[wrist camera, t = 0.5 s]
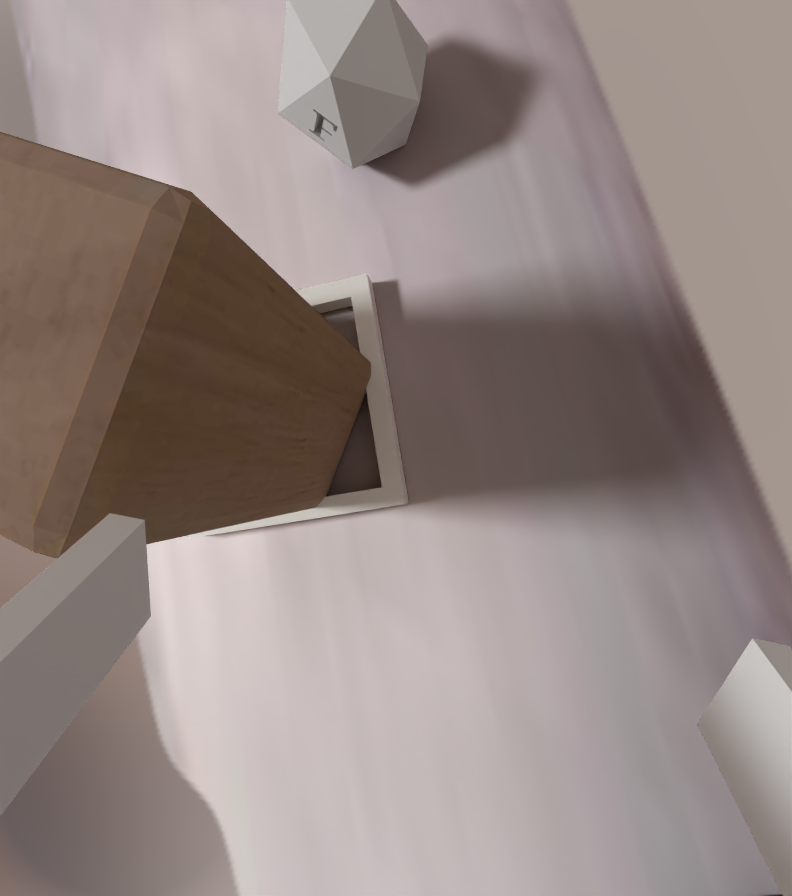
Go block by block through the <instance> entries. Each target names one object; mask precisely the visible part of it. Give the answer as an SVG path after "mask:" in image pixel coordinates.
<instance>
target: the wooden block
mask: <svg viewBox="0 0 792 896" xmlns="http://www.w3.org/2000/svg"><path fill="white" fill-rule="evenodd" d="M370 377H371V362H370V361H369V360H368V359H366V358H365V357H364V356H363V355H362V354H361V353H360V352H359V351H358V350H357V349H356V348H355V347H354V346H353V345H352V344H351V343H350V342H349V341H348V340H347V339H345V338H344V337H343V336H342V335H341V334H340V333H339V332H338V331H337V330H336V329H335V328H334V327H333V326H332V325H331V324H330V323H329V322H328V321H327V320H326V319H324V318H323V317H322V316H321V315H320V314H319V313H318V312H317V311H316V310H315V309H314V308H313V307H312V306H311V305H310V304H309V303H308V302H307V301H306V300H305V299H303V298H302V297H301V296H300V295H299V294H298V293H297V292H296V291H295V290H294V289H293V288H292V287H291V286H290V285H289V284H288V283H287V282H286V281H285V280H284V279H282V278H281V277H280V276H279V275H278V274H277V273H276V272H275V271H274V270H273V269H272V268H271V267H270V266H269V265H268V264H267V263H266V262H265V261H264V260H263V259H261V258H260V257H259V256H258V255H257V254H256V253H255V252H254V251H253V250H252V249H251V248H250V247H249V246H248V245H247V244H246V243H245V242H244V241H243V240H242V239H240V238H239V237H238V236H237V235H236V234H235V233H234V232H233V231H232V230H231V229H230V228H229V227H228V226H227V225H226V224H225V223H224V222H223V221H222V220H221V219H219V218H218V217H217V216H216V215H215V214H214V213H213V212H212V211H211V210H210V209H209V208H208V207H207V206H206V205H205V204H204V203H203V202H202V201H200V200H199V199H198V198H197V197H196V196H195V195H194V194H193V193H192V192H190V191H187V190H184V189H181V188H178V187H174V186H171V185H168V184H165V183H162V182H158V181H155V180H152V179H149V178H146V177H142V176H139V175H136V174H133V173H130V172H127V171H123V170H120V169H117V168H114V167H111V166H107V165H104V164H101V163H98V162H95V161H91V160H88V159H85V158H82V157H79V156H75V155H72V154H69V153H66V152H63V151H60V150H56V149H53V148H50V147H47V146H44V145H40V144H37V143H34V142H31V141H28V140H24V139H21V138H18V137H15V136H12V135H9V134H5V133H2V132H0V535H2V536H4V537H6V538H8V539H10V540H12V541H14V542H16V543H18V544H19V545H22V546H23V547H25V548H28V549H30V550H31V551H33V552H36V553H40V554H43V555H46V556H50V557H53V558H59V557H60V556H61V555H62V554H63V553H64V552H66V551H67V550H68V549H69V548H70V547H71V546H72V545H74V544H75V543H76V542H77V541H78V540H79V539H81V538H82V537H83V536H84V535H85V534H86V533H88V532H89V531H90V530H91V529H92V528H93V527H95V526H96V525H97V524H98V523H99V522H100V521H101V520H103V519H104V518H105V517H106V516H107V515H108V514H110V513H112V514H117V515H122V516H127V517H132V518H137V519H142V520H145V532H146V544H150V543H154V542H159V541H163V540H168V539H173V538H177V537H182V536H187V535H191V534H196V533H201V532H205V531H210V530H214V529H219V528H224V527H228V526H233V525H238V524H242V523H247V522H251V521H256V520H261V519H265V518H270V517H275V516H279V515H284V514H288V513H293V512H298V511H302V510H307V509H312V508H316V506H317V505H318V504H319V503H320V502H321V501H322V500H323V499H324V497H326V495H327V493H328V490H329V488H330V485H331V482H332V480H333V477H334V475H335V472H336V469H337V467H338V464H339V462H340V459H341V456H342V454H343V451H344V449H345V446H346V443H347V441H348V438H349V436H350V433H351V430H352V428H353V425H354V423H355V420H356V417H357V415H358V412H359V409H360V407H361V404H362V402H363V399H364V396H365V394H366V387H367V385H368V382H369V380H370Z"/></svg>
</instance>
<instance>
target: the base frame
mask: <svg viewBox="0 0 792 896" xmlns="http://www.w3.org/2000/svg"><path fill="white" fill-rule="evenodd" d="M296 292H297V293H298V294H299V295H300V296H301V297H302V298H303V299H305V300H306V301H307V302H308V303H309V304H310V305H311V306H312V307H313V308H314V309H315V310H316V311H317V312H318V313H324V312H328V311H332V310H337V309H341V308H345V307H350V306H353V312H354V318H355V324H356V330H357V337H358V343H359V349H360V353H361V354H362V355H363V356H364V357H365V358H366V359H368V360H369V361H370V362H371V377H370V380H369V382H368V385H367V387H366V392H367V398H368V404H369V411H370V417H371V423H372V429H373V435H374V441H375V448H376V454H377V460H378V466H379V472H380V478H381V485H382V487H381V488H375V489H369V490H363V491H357V492H351V493H345V494H338V495H332V496H326V497H324V499H323V500H322V501H321V502H320V503H319V504H318V505H317V506H316V508H312V509H307V510H302V511H298V512H293V513H288V514H284V515H279V516H275V517H270V518H265V519H261V520H256V521H251V522H247V523H242V524H238V525H233V526H228V527H224V528H219V529H214V530H210V531H205V532H201V533H196V534H191V535H187V537H188V539H189V538H195V537H201V536H207V535H214V534H220V533H226V532H233V531H239V530H245V529H252V528H258V527H264V526H271V525H277V524H283V523H290V522H296V521H302V520H308V519H315V518H321V517H327V516H334V515H340V514H346V513H353V512H359V511H365V510H372V509H378V508H384V507H391V506H397V505H403V504H407V503H409V501H408V495H407V489H406V483H405V477H404V471H403V465H402V459H401V453H400V447H399V441H398V435H397V429H396V423H395V417H394V411H393V405H392V399H391V393H390V386H389V380H388V374H387V368H386V362H385V356H384V350H383V344H382V338H381V332H380V326H379V320H378V314H377V308H376V302H375V296H374V290H373V284H372V281H371V280H370V278H369V276H368V275H367V273H366V274H362V275H358V276H354V277H349V278H345V279H341V280H337V281H333V282H329V283H325V284H321V285H316V286H312V287H308V288H304V289H300V290H296Z"/></svg>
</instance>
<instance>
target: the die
mask: <svg viewBox="0 0 792 896" xmlns="http://www.w3.org/2000/svg"><path fill="white" fill-rule="evenodd" d="M427 49H428V45H427V43H426V42H425V41H424V39H423V38H422V36H421V35H420V34H419V32H418V31H417V29H416V28H415V27H414V25H413V24H412V22H411V21H410V20H409V18H408V17H407V15H406V14H405V13H404V11H403V10H402V8H401V7H400V6H399V4H398V3H397V1H396V0H287V5H286V17H285V29H284V41H283V53H282V65H281V77H280V89H279V101H278V113H277V114H279V115H280V116H282V117H283V118H284V119H286V120H287V121H288V122H290V123H291V124H292V125H294V126H295V127H297V128H298V129H299V130H301V131H302V132H303V133H305V134H306V135H307V136H309V137H310V138H312V139H313V140H314V141H316V142H317V143H318V144H320V145H321V146H322V147H324V148H325V149H327V150H328V151H329V152H331V153H332V154H333V155H335V156H336V157H337V158H339V159H340V160H342V161H343V162H344V163H346V164H347V165H348V166H350V167H351V168H352V169H354V168H356V167H358V166H360V165H363V164H365V163H367V162H369V161H371V160H373V159H376V158H378V157H380V156H382V155H384V154H386V153H389V152H391V151H393V150H395V149H397V148H399V147H402V146H404V145H406V143H407V140H408V137H409V134H410V131H411V127H412V124H413V121H414V118H415V115H416V112H417V109H418V106H419V103H420V97H421V91H422V84H423V77H424V70H425V63H426V56H427Z"/></svg>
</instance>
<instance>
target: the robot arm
mask: <svg viewBox="0 0 792 896" xmlns="http://www.w3.org/2000/svg"><path fill="white" fill-rule="evenodd" d="M150 616H151V613H150V597H149V580H148V564H147V548H146V532H145V520H142V519H137V518H132V517H127V516H122V515H117V514H112V513H110V514H108V515H107V516H106V517H105V518H104V519H103V520H101V521H100V522H99V523H98V524H97V525H96V526H95V527H93V528H92V529H91V530H90V531H89V532H88V533H86V534H85V535H84V536H83V537H82V538H81V539H79V540H78V541H77V542H76V543H75V544H74V545H72V546H71V547H70V548H69V549H68V550H67V551H66V552H64V553H63V554H62V555H61V556H60V557H59V558H57V559H56V560H55V561H54V562H53V563H52V564H51V565H49V566H48V567H47V568H46V569H45V570H44V571H42V572H41V573H40V574H39V575H38V576H37V577H35V578H34V579H33V580H32V581H31V582H30V583H28V584H27V585H26V586H25V587H24V588H23V589H22V590H20V591H19V592H18V593H17V594H16V595H15V596H13V597H12V598H11V599H10V600H9V601H8V602H7V603H5V604H4V605H3V606H2V607H1V608H0V816H1V815H2V813H3V812H4V810H5V809H6V808H7V806H8V805H9V804H10V802H11V801H12V800H13V799H14V797H15V796H16V795H17V793H18V792H19V791H20V789H21V788H22V787H23V785H24V784H25V783H26V781H27V780H28V779H29V777H30V776H31V775H32V773H33V772H34V771H35V769H36V768H37V767H38V765H39V764H40V763H41V761H42V760H43V758H44V757H45V756H46V755H47V753H48V752H49V751H50V749H51V748H52V747H53V745H54V744H55V743H56V741H57V740H58V738H59V737H60V736H61V735H62V733H63V732H64V731H65V729H66V728H67V726H68V725H69V724H70V723H71V721H72V720H73V719H74V717H75V716H76V715H77V713H78V712H79V711H80V709H81V708H82V707H83V705H84V704H85V703H86V701H87V700H88V699H89V697H90V696H91V695H92V693H93V692H94V691H95V689H96V688H97V687H98V685H99V684H100V683H101V681H102V680H103V679H104V677H105V676H106V675H107V673H108V672H109V671H110V669H111V668H112V667H113V666H114V664H115V663H116V662H117V660H118V659H119V658H120V656H121V655H122V653H123V652H124V651H125V649H126V648H127V647H128V646H129V644H130V643H131V642H132V640H133V639H134V638H135V636H136V635H137V634H138V632H139V631H140V630H141V628H142V627H143V626H144V624H145V623H146V622H147V620H148V619H149V618H150ZM697 725H698V727H699V729H700V731H701V733H702V735H703V737H704V739H705V741H706V743H707V745H708V747H709V749H710V751H711V753H712V755H713V757H714V759H715V761H716V763H717V765H718V767H719V769H720V771H721V773H722V775H723V777H724V779H725V781H726V783H727V785H728V787H729V789H730V791H731V793H732V795H733V797H734V799H735V801H736V803H737V805H738V807H739V809H740V811H741V813H742V815H743V817H744V819H745V821H746V823H747V825H748V827H749V829H750V831H751V833H752V835H753V837H754V839H755V841H756V843H757V845H758V847H759V849H760V851H761V853H762V855H763V857H764V859H765V861H766V863H767V865H768V867H769V869H770V871H771V873H772V875H773V877H774V879H775V881H776V883H777V885H778V887H779V889H780V891H781V893H782V895H783V896H792V649H791V648H790V647H789V645H784V644H778V643H773V642H768V641H763V640H758V639H753V638H752V640H751V641H750V643H749V645H748V646H747V648H746V649H745V651H744V652H743V654H742V655H741V657H740V658H739V660H738V662H737V663H736V665H735V666H734V668H733V669H732V671H731V672H730V674H729V675H728V677H727V679H726V680H725V682H724V683H723V685H722V686H721V688H720V689H719V691H718V692H717V694H716V695H715V697H714V699H713V700H712V702H711V703H710V705H709V706H708V708H707V709H706V711H705V712H704V714H703V716H702V717H701V719H700V720H699V722H698V723H697Z"/></svg>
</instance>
